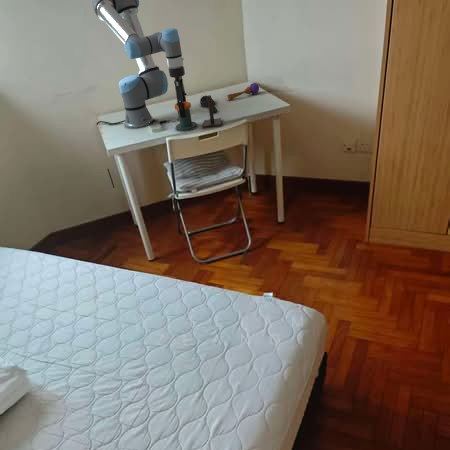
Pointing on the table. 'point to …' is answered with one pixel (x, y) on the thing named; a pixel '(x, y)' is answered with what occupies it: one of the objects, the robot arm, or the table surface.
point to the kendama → (245, 91)
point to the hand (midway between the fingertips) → (184, 113)
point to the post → (211, 116)
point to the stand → (186, 122)
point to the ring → (186, 105)
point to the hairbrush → (205, 103)
